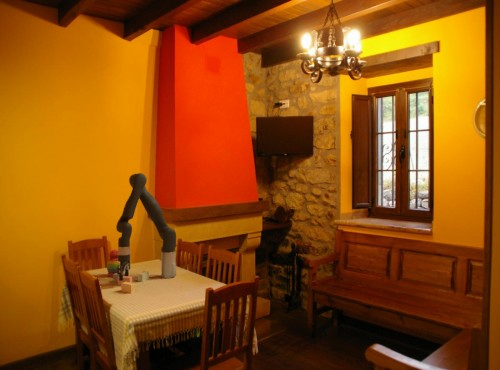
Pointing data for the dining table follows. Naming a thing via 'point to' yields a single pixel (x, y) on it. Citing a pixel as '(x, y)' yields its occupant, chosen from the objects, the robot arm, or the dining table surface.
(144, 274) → the sage brick
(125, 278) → the terracotta brick
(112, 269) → the stacking bear
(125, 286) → the ochre brick
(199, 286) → the dining table surface
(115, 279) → the slate brick
